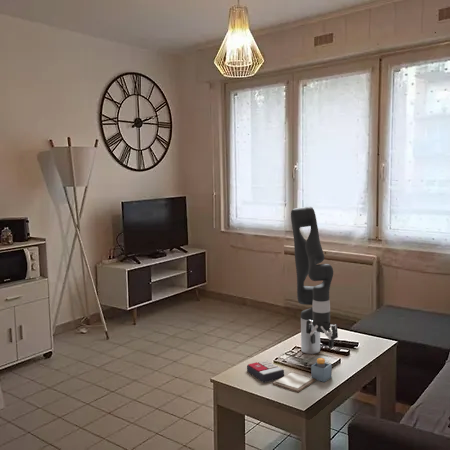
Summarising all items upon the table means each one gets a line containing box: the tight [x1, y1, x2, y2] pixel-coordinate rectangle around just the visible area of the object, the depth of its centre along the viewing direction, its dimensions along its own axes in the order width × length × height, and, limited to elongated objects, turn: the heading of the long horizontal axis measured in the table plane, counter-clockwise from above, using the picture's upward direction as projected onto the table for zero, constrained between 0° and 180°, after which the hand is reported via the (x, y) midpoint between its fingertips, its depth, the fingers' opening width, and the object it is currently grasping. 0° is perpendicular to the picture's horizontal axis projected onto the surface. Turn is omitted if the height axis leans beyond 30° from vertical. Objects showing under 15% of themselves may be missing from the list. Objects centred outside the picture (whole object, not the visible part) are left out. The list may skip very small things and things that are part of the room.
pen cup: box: [310, 361, 332, 383], centre depth 219 cm, size 6×6×6 cm
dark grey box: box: [246, 359, 285, 384], centre depth 226 cm, size 11×4×15 cm
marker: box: [316, 357, 326, 368], centre depth 219 cm, size 3×3×8 cm
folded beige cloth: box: [272, 371, 317, 393], centre depth 216 cm, size 14×13×1 cm
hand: (321, 345), depth 218 cm, fingers open, 8 cm apart
